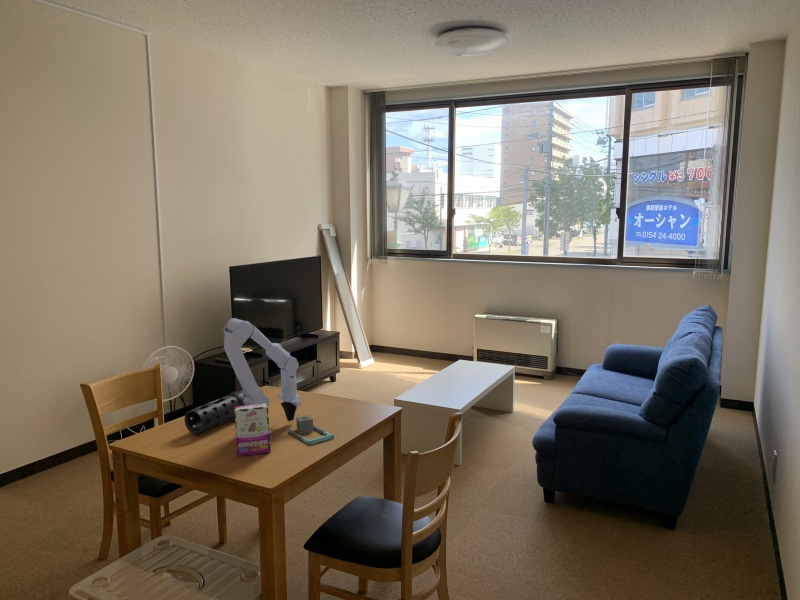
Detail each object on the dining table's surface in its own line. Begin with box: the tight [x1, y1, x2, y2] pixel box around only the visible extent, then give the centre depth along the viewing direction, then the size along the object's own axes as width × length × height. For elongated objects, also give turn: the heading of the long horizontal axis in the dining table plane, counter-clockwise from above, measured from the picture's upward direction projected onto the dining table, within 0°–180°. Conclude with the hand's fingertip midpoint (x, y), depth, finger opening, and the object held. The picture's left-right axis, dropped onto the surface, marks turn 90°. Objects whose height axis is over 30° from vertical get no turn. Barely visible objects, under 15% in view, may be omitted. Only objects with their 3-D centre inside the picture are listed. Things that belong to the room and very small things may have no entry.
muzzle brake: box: [184, 390, 245, 436], centre depth 232 cm, size 10×28×10 cm, turn 154°
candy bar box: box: [234, 403, 271, 458], centre depth 203 cm, size 11×5×16 cm, turn 106°
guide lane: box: [287, 424, 335, 446], centre depth 219 cm, size 10×16×2 cm, turn 38°
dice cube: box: [295, 414, 314, 435], centre depth 224 cm, size 5×5×5 cm
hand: (290, 420), depth 231 cm, fingers closed
